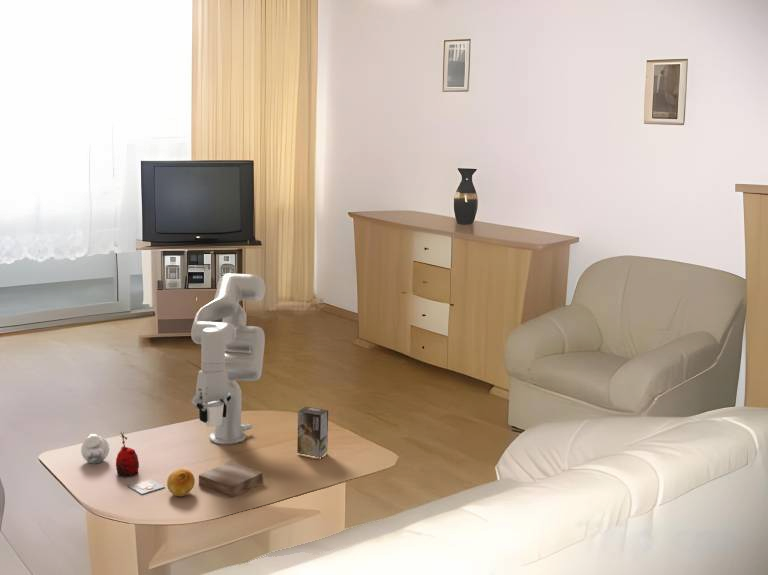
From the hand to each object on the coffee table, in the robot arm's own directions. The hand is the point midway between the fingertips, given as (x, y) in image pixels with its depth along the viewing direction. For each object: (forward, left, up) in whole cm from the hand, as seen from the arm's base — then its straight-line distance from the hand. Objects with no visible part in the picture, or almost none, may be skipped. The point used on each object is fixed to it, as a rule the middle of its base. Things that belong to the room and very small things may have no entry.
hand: (213, 418), depth 287 cm
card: (+24, -1, -17) cm, 30 cm away
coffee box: (-33, +12, -17) cm, 39 cm away
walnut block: (+3, +14, -18) cm, 23 cm away
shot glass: (0, 0, -2) cm, 2 cm away
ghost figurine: (+26, -29, -17) cm, 43 cm away
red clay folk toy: (+23, -14, -17) cm, 32 cm away
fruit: (+19, +10, -17) cm, 28 cm away
